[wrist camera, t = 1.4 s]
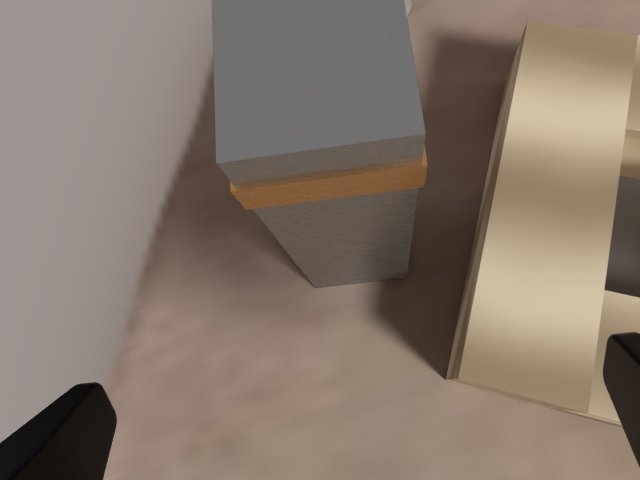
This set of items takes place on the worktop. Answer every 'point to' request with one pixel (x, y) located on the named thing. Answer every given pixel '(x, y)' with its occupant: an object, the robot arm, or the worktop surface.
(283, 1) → the square bit
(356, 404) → the worktop surface
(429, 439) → the worktop surface
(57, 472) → the robot arm
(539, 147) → the socket block
